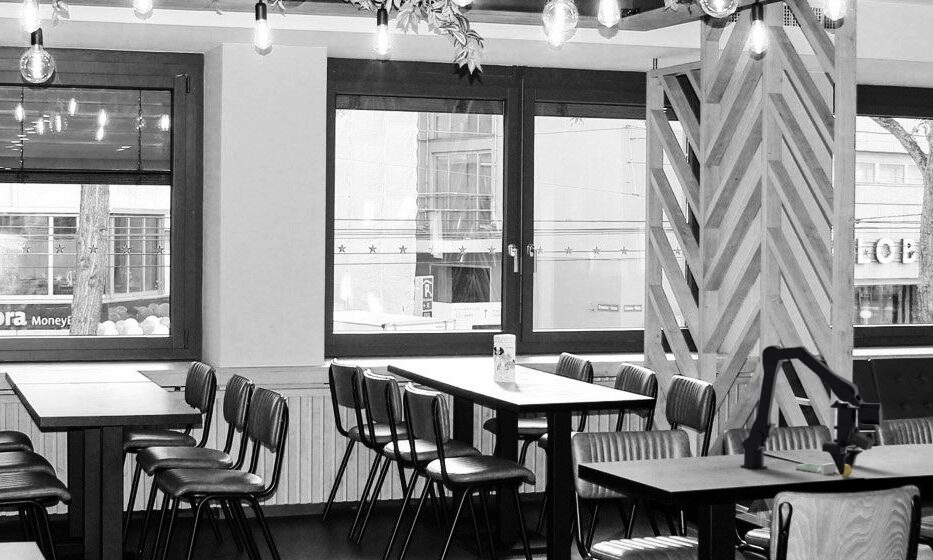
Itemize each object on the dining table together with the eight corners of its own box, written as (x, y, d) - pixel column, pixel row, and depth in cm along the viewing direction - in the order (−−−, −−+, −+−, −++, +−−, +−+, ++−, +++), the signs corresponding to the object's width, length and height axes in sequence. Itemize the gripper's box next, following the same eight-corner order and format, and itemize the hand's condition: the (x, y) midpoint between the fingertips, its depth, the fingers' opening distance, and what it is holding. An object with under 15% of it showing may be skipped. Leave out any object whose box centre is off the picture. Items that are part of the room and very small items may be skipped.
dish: (816, 472, 369) (817, 468, 369) (795, 469, 375) (795, 465, 375) (829, 470, 374) (829, 466, 374) (808, 467, 380) (808, 463, 380)
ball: (847, 478, 360) (848, 465, 360) (835, 476, 363) (836, 463, 363) (854, 477, 363) (854, 464, 363) (842, 475, 366) (842, 462, 366)
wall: (824, 474, 366) (824, 465, 366) (821, 474, 367) (821, 464, 367) (835, 472, 371) (835, 463, 371) (832, 472, 372) (833, 462, 372)
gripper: (855, 428, 351) (853, 480, 351) (885, 423, 364) (884, 474, 364) (821, 424, 359) (820, 475, 359) (852, 420, 372) (851, 469, 372)
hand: (845, 473), depth 363 cm, fingers closed on ball, 4 cm apart
